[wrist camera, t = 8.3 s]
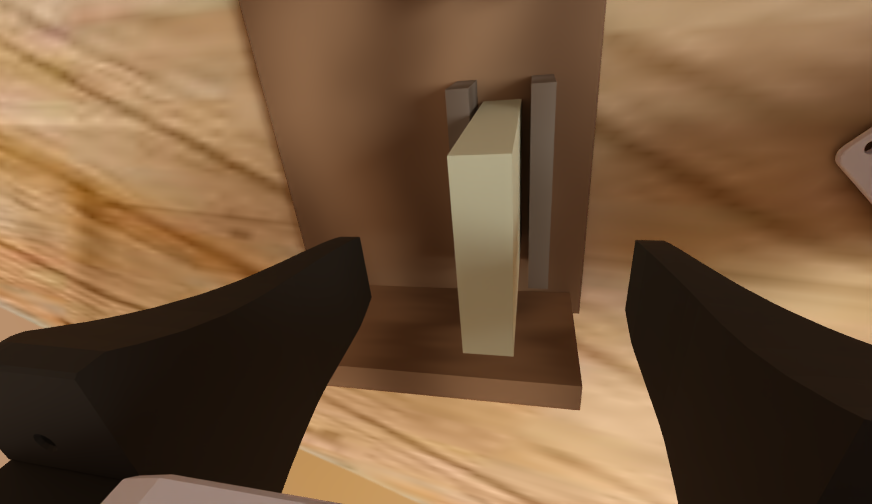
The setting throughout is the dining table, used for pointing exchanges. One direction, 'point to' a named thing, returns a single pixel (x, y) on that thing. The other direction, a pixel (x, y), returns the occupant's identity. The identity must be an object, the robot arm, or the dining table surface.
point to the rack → (437, 172)
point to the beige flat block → (488, 225)
